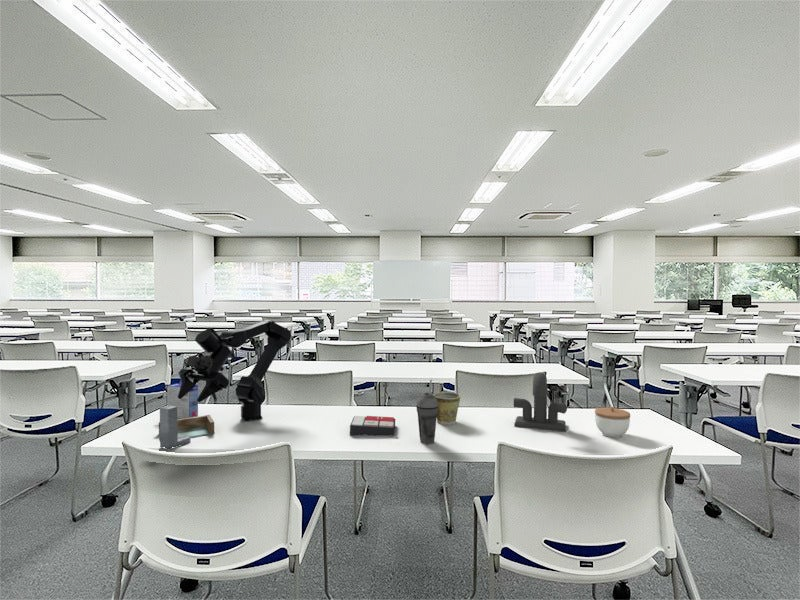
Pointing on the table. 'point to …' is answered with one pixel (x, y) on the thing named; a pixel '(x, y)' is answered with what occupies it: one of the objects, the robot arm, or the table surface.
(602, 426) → the lidded jar
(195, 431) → the tray
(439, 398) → the ceramic cup
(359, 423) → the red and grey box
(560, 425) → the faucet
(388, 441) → the table surface
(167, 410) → the angle bracket
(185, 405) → the ink cartridge box
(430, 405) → the beverage cup
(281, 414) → the table surface
